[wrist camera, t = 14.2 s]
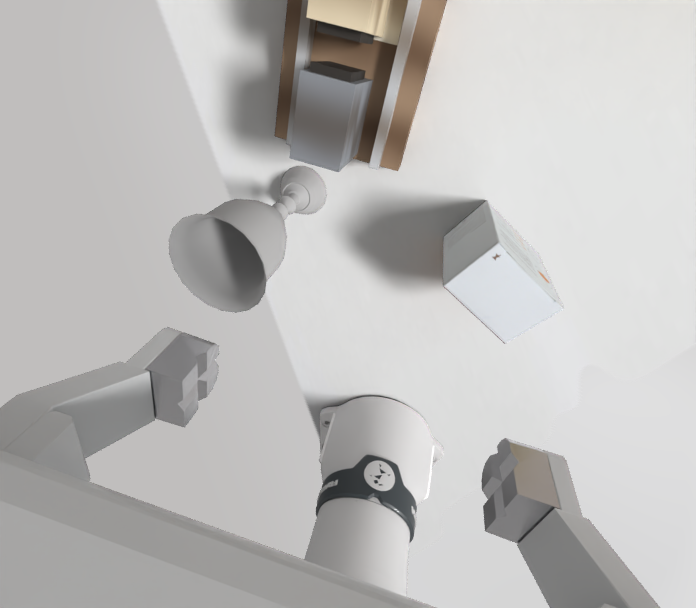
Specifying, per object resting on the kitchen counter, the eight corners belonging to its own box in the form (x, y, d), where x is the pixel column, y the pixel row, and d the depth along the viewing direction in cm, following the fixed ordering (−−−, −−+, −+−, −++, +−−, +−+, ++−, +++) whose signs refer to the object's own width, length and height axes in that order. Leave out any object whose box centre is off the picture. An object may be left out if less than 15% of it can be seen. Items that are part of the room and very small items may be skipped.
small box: (442, 235, 40) (439, 285, 31) (487, 197, 37) (498, 240, 28) (493, 286, 41) (504, 347, 33) (540, 253, 39) (566, 310, 30)
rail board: (400, 166, 37) (386, 192, 30) (282, 132, 38) (241, 151, 31) (473, -93, 27) (481, -151, 20) (310, -130, 28) (258, -199, 20)
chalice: (259, 173, 41) (148, 238, 26) (312, 142, 38) (221, 195, 23) (295, 233, 43) (213, 323, 29) (347, 209, 41) (286, 295, 26)
